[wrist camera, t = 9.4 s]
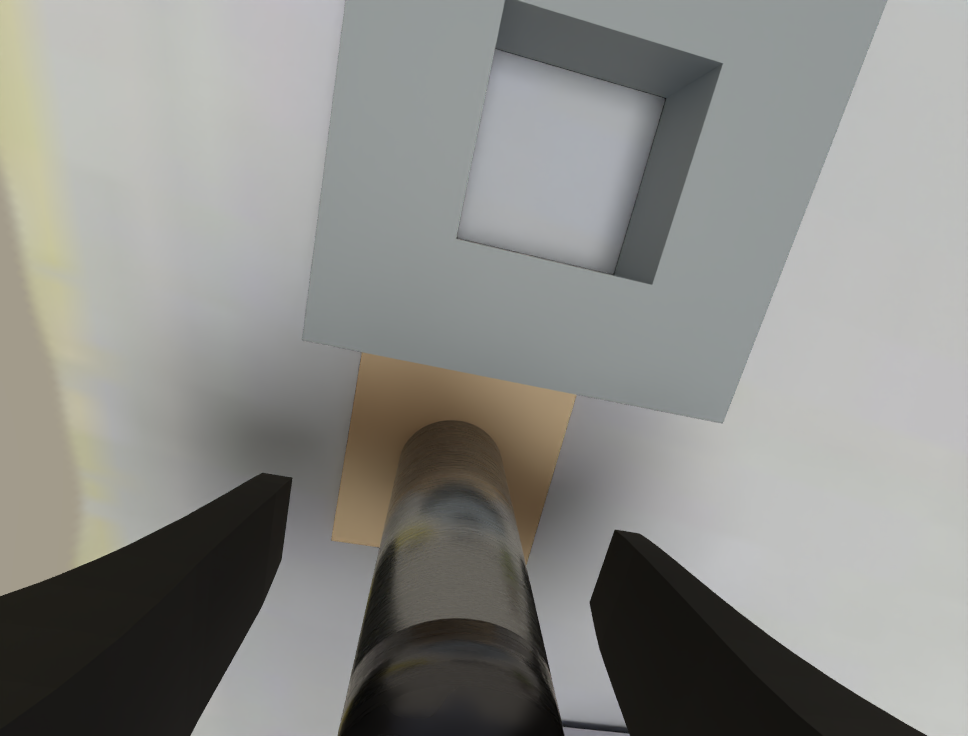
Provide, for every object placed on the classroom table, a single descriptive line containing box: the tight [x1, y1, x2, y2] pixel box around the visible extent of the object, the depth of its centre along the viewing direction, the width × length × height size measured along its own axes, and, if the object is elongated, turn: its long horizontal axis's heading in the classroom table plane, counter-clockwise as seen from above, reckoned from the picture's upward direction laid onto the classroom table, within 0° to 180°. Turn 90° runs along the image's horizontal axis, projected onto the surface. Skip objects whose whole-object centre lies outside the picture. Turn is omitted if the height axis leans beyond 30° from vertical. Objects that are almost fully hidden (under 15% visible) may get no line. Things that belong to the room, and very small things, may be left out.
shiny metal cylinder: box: [338, 420, 565, 736], centre depth 10 cm, size 3×3×8 cm
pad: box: [331, 352, 576, 564], centre depth 14 cm, size 6×6×1 cm
